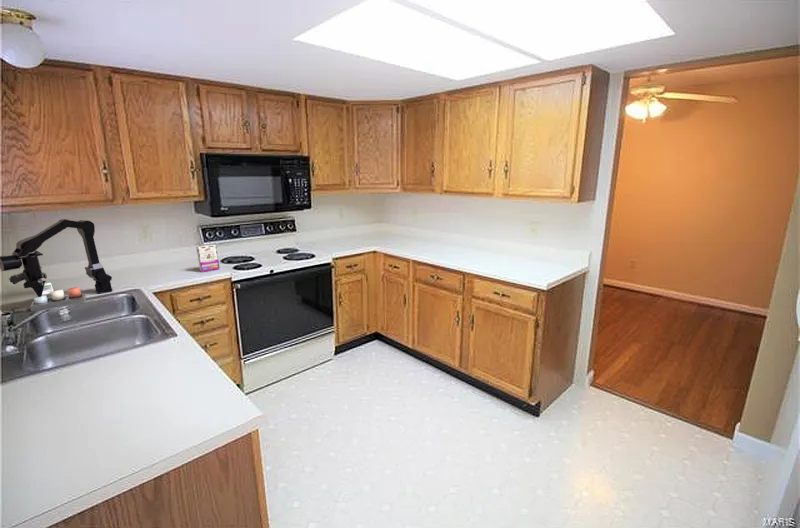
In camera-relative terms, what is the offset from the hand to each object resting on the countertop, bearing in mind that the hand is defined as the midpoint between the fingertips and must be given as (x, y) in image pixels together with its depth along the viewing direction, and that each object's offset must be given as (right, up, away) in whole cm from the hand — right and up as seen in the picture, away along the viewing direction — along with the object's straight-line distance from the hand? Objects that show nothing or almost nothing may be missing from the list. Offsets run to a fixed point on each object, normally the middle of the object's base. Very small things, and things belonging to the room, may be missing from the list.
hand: (40, 296), depth 184 cm
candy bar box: (+50, +12, +65) cm, 83 cm away
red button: (+10, 0, +8) cm, 13 cm away
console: (+5, -4, +5) cm, 8 cm away
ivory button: (+5, -1, +4) cm, 7 cm away
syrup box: (-11, 0, +13) cm, 17 cm away
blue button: (0, -4, +1) cm, 4 cm away
